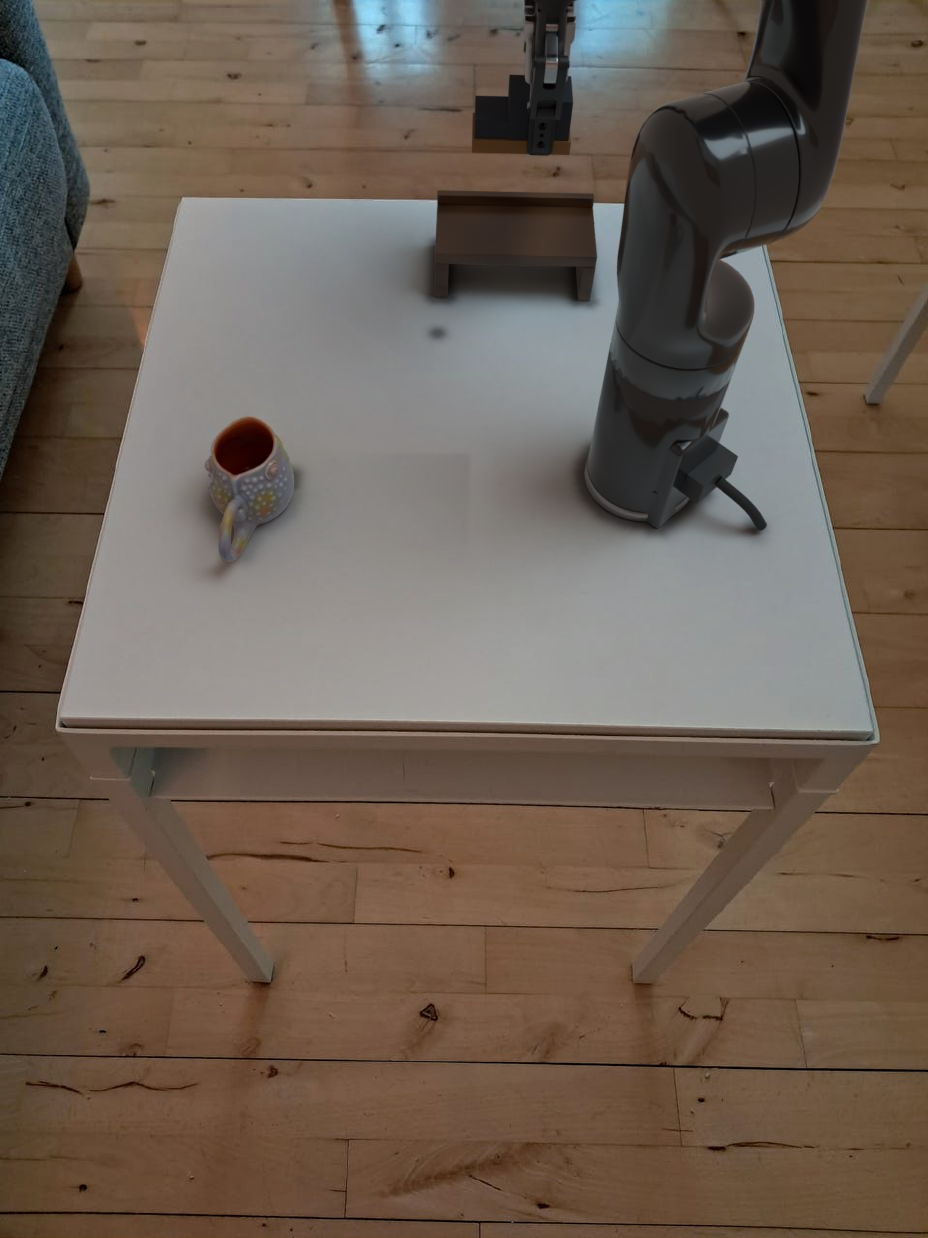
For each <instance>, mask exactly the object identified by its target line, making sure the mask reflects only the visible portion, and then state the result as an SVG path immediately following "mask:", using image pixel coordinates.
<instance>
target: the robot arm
mask: <svg viewBox="0 0 928 1238" xmlns="http://www.w3.org/2000/svg"><path fill="white" fill-rule="evenodd" d="M576 1H577V0H523V5H522V24H523V33H522V34H523V53H524V55H525V57H524V71H523V72H524V73H523V75H525V80H526V82H527V83H529V84H530V91H529V102H527V109H528V114H529V120H528V133H527V153H528V154H527V155H529V156H538V157H539V156H541V157H548V156H550V154H551V153H552V151H553V142H554V133H555V123H556V120H560V116H561V115H562V103H563V97H564V90H565V84H566V82H567V80H568V76H569V72H570V71H569V70H570V62H571V61H570V59H571V58H570V57H571V46H572V44H573V43H574V41H575V37H576V36H575V35H576V28H577V16H576V15H574V14H575V2H576ZM868 5H869V0H760V3H759V12H758V21H757V25H756V33H755V37H754V44H753V48H752V53H751V57H750V60H749V61H750V62H749V64H748V67H747V70H746V73H745V75H744V77H743V79H742V81H741V82H738V83H734V84H730V85H726V86H723V87H719V88H716V89H712V90H708V91H705V92H701V93H697V94H694V95H690V96H686V97H682V98H679V99H676V100H673V101H670V102H666V103H664V104H662V105H660V106H658V107H656V108H655V109H654V110H652V112H650V114H649V115H647V117H646V118H645V120H644V122H643V123H642V125H641V127H640V128H639V130H638V133H637V135H636V138H635V140H634V144H633V147H632V150H631V154H630V160H629V164H628V170H627V177H626V185H625V193H624V202H623V211H622V221H621V227H620V236H619V243H618V249H617V257H616V283H617V297H618V301H617V302H618V303H617V308H616V313H615V318H614V324H613V329H612V334H611V340H610V344H609V349H608V353H607V360H606V364H605V370H604V375H603V380H602V384H601V389H600V395H599V400H598V403H597V404H598V405H597V411H596V416H595V420H594V426H593V429H592V436H591V442H590V446H589V451H588V453H587V457H586V461H585V466H584V481H585V485H586V488H587V490H588V492H589V494H590V495H591V497H592V498H593V499H594V501H596V502H597V504H598V505H600V506H601V507H602V508H603V509H605V510H606V511H608V512H609V513H611V514H612V515H615V516H618V517H619V518H622V519H626V520H630V521H635V522H636V521H637V522H646V523H648V524H650V525H651V526H652V527H654V528H656V529H658V528H660V527H661V526H662V525H664V524H665V523H666V522H667V521H669V520H670V519H671V518H672V517H673V516H674V515H676V514H677V513H678V512H680V511H681V510H682V509H683V508H684V507H685V506H686V505H687V504H688V503H689V502H691V501H692V502H693V503H695V504H697V505H699V503H700V502H702V501H703V500H704V499H705V498H706V497H707V496H709V494H711V493H712V492H713V491H714V490H715V489H716V488H717V489H718V490H720V491H721V492H722V493H724V494H725V495H726V496H727V497H728V498H729V499H730V500H732V501H733V502H734V503H735V504H737V505H738V506H739V507H740V508H741V509H742V510H743V511H744V512H745V513H746V515H747V516H748V517H749V519H750V520H751V522H752V524H753V525H754V527H755V529H756V530H757V531H759V532H760V531H761V532H762V531H763V530H765V529H766V528H767V527H768V523H767V522H766V519H765V518H764V516H763V515H762V513H761V512H760V510H759V508H758V507H757V506H756V505H755V504H754V503H753V502H752V501H751V499H749V498H748V497H747V496H746V495H745V494H743V493H742V492H741V491H740V490H739V489H737V487H735V486H734V485H733V484H732V483H731V482H729V481H728V480H727V479H728V478H729V477H731V475H732V473H733V471H734V468H735V466H736V463H737V461H738V458H739V456H738V455H737V454H735V452H733V451H731V450H730V449H729V448H727V447H726V446H724V445H723V444H721V443H720V442H721V439H722V436H723V434H724V431H725V428H726V425H727V423H728V420H729V417H730V413H729V411H727V410H726V409H725V408H723V404H724V401H725V398H726V394H727V393H728V389H729V387H730V384H731V381H732V378H733V375H734V372H735V370H736V367H737V364H738V362H739V358H740V355H741V353H742V350H743V348H744V345H745V343H746V340H747V337H748V335H749V332H750V329H751V326H752V323H753V319H754V315H755V298H754V294H753V290H752V289H751V286H750V285H749V283H748V282H747V280H746V278H744V276H743V275H742V274H741V273H740V272H739V271H738V270H737V269H736V268H734V267H733V266H732V265H731V264H729V263H727V262H726V261H724V260H722V259H726V258H730V257H732V256H736V255H738V254H741V253H745V252H749V251H751V250H754V249H758V248H761V247H763V246H764V247H765V246H766V245H770V244H772V243H776V242H778V241H781V240H784V239H786V238H788V237H790V236H793V235H794V234H796V233H798V232H799V231H801V230H802V229H804V228H805V227H806V226H807V225H808V224H809V223H810V222H812V220H813V219H814V218H815V216H816V215H817V213H818V212H819V211H820V209H821V207H822V206H823V204H824V202H825V199H826V197H827V195H828V193H829V191H830V187H831V184H832V180H833V178H834V175H835V172H836V167H837V163H838V160H839V156H840V151H841V147H842V142H843V137H844V131H845V126H846V121H847V116H848V110H849V104H850V100H851V94H852V89H853V83H854V77H855V73H856V66H857V62H858V56H859V49H860V45H861V40H862V35H863V29H864V24H865V19H866V14H867V11H868V10H867V9H868Z"/></svg>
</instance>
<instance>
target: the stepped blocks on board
mask: <svg viewBox="0 0 928 1238" xmlns="http://www.w3.org/2000/svg"><path fill="white" fill-rule="evenodd" d="M529 91H530V84H529V83H527V82H526V80H525V74H509V76H508V90H507V93H508V94H507V96H505V95H475V98H474V102H475V103H474V112H472V119H471V120H472V121H471V130H472V131H471V153H472V154H505V155H507V154H509V155H511V154H512V155H513V154H514V155H529V154H528V153H527V133H528V120H529V114H528V109H527V102H529ZM573 94H574V93H573V83H572V76H571V75H568V80H567V82H566V84H565V90H564V97H563V103H562V115H561V116H560V120H556V123H555V133H554V142H553V151H552V153H551V154H550V155H553V156H555V155H557V156H570V153H571V147H572V136H571V127H572V126H571V125H572V118H573V117H572V116H573V107H574V95H573ZM550 155H549V156H550Z"/></svg>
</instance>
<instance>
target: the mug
mask: <svg viewBox="0 0 928 1238" xmlns="http://www.w3.org/2000/svg"><path fill="white" fill-rule="evenodd" d="M204 469H205V471H206V472H208V473H207V477H208V479H207V480H208V486H207V489H208V490H209V494H210V497H211V499H212V501H213V504H214V505H215V507H216V509H218V511H219V512H220V513H221V514H222V515H223V516H222V519H221V523H220V527H219V533H218V543H217V550H218V556H219V557H220V559H221V560H223V561H224V562H228V563H231V562H234V561H236V560H237V559H238V558H239V557H240V555H242V553H243V551H244V550H245V548H246V546H247V544H248V542H249V540H250V538H251V536H252V534H253V533H254V531H255V529H256V527H257V526H259V525H262V524H263V525H264V524H265V523H268V522H271V521H272V520H274V519H276V518H277V517H278V516H279V515H280V514H282V512H284V511H285V509H286V508H287V506H288V505H289V503H290V502H291V499H292V496H293V493H294V490H295V489H294V488H295V474H294V469H293V465H292V462H291V459H290V457H289V455H288V453H287V451H286V449H285V448H284V445H283V442H282V440H281V438H280V437H279V436H278V435H277V434H276V433H275V431H274V430H273V428H272V427H271V426H270V425H269V424H268V423H266V422H265V421H263V420H262V419H260V418H258V417H255V416H242V417H240V418H237V419H235V420H233V421H232V422H230V423H229V424H227V426H225V427H224V428H223V429H222V430H221V431H220V432H219V433H218V434H217V435H216V437H215V438H214V439H213V441H212V442H211V446H210V455H209V457H208V459H207V460H206V461H205V462H204ZM232 530H233V531H234V533H233V539H232Z"/></svg>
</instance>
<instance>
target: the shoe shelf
mask: <svg viewBox="0 0 928 1238" xmlns="http://www.w3.org/2000/svg"><path fill="white" fill-rule="evenodd" d="M594 204H595V194H594V193H584V192H583V193H582V192H581V193H580V192H543V191H539V192H537V191H498V190H497V191H491V190H490V191H489V190H444V189H438V190H436V222H435V226H436V227H435V245H434V246H435V247H434V276H435V277H434V278H435V279H434V281H435V282H434V283H435V285H434V287H435V298H437V299H448V298H449V277H450V275H449V272H450V265H477V266H478V265H481V266H482V265H483V266H484V265H485V266H529V267H533V266H534V267H571V268H573V267H574V268H575V276H576V291H577V301H581V302H590V301H591V299H592V291H593V285H594V279H595V278H594V277H595V273H596V266H597V261H598V252H597V251H598V250H597V239H596V238H597V237H596V227H595V215H594Z"/></svg>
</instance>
